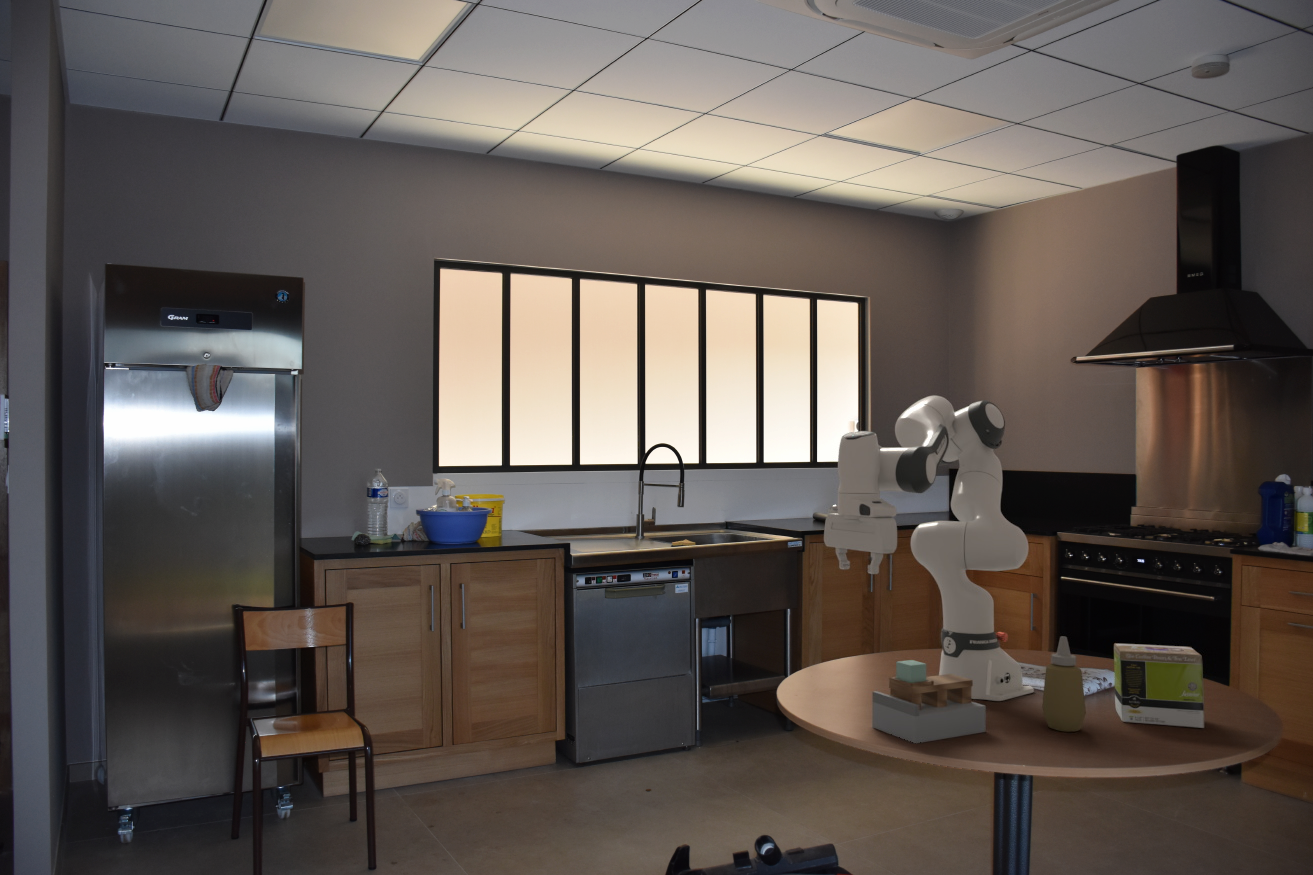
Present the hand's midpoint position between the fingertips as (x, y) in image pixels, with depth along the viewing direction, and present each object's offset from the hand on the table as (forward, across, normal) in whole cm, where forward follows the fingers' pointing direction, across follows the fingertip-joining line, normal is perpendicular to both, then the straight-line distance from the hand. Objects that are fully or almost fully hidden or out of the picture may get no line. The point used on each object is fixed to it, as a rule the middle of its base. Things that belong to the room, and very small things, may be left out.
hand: (858, 571), depth 200 cm
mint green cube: (+20, +19, -2) cm, 27 cm away
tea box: (+29, +34, +50) cm, 67 cm away
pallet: (+24, +19, +3) cm, 31 cm away
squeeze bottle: (+29, +30, +27) cm, 50 cm away
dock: (+29, +19, +2) cm, 35 cm away
